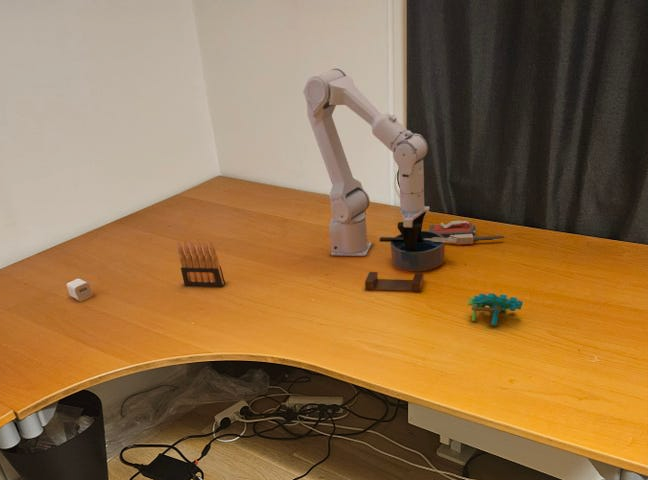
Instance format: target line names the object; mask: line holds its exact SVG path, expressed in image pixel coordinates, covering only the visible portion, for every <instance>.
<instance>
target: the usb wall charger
mask: <svg viewBox="0 0 648 480" xmlns="http://www.w3.org/2000/svg"><path fill="white" fill-rule="evenodd" d="M66 288H67V291H68V293H69V296H70V297H72V298H73V299H75V300H77V301H79V302H83V301H85V300H88V299H90V298H91V297H93V295H94V294H93V293H94V292H93V290H92V288H91V285H90V282H87V281H85V280H83V279H82V278H76V279H73V280H71V281H68V282H67V283H66Z"/></svg>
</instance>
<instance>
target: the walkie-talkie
mask: <svg viewBox="0 0 648 480" xmlns="http://www.w3.org/2000/svg"><path fill="white" fill-rule="evenodd" d="M476 229H477V228H476V225H473V222H469V221H468V220H467V219H463V220H451V221H450V222H448V223H445V224H444V222H440V224H430V225H429V230H428V231H431V232H435V233H438V234H440V235H442V236H443V237H444V238H457V242H456V244H455V245H474V242H478V241H493V240H498V239H505V236H504V235H503V234H502V235H482V236H481V235H480V236H478V235H476V233H477V232H476V231H477V230H476Z"/></svg>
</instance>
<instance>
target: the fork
mask: <svg viewBox="0 0 648 480" xmlns="http://www.w3.org/2000/svg"><path fill="white" fill-rule="evenodd" d="M379 242H380V243H391V242H404V239H403V237H395V236H394V237H393V236H380V237H379ZM417 242H431V243H445V244H448V245H450V244H451V245H453V244H454V245H457V244H456V242H457V238H441V237H433V238H417Z"/></svg>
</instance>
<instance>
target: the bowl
mask: <svg viewBox="0 0 648 480" xmlns="http://www.w3.org/2000/svg"><path fill="white" fill-rule="evenodd" d="M394 237H403V236H402V234H401V233H399V234H397V235H395V236H394ZM433 237H441V238H444V237H443V236H442V235H440V234H438V233H435V232H431V231H430V230H421V235H420V238H433ZM390 258H391V260H390V261H391V263H392V265H393V266H394V267H395V268H397V269H399V270H403V271H408V272H423V271H424V272H425V271H429V270H433V269H436V268H437V267H440V266H441V265H442V264H443V263H444V262H445V259H446V243H431V242H417V245H416V249H415V251H407V250H406V247H405V243H404V242H390Z"/></svg>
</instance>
